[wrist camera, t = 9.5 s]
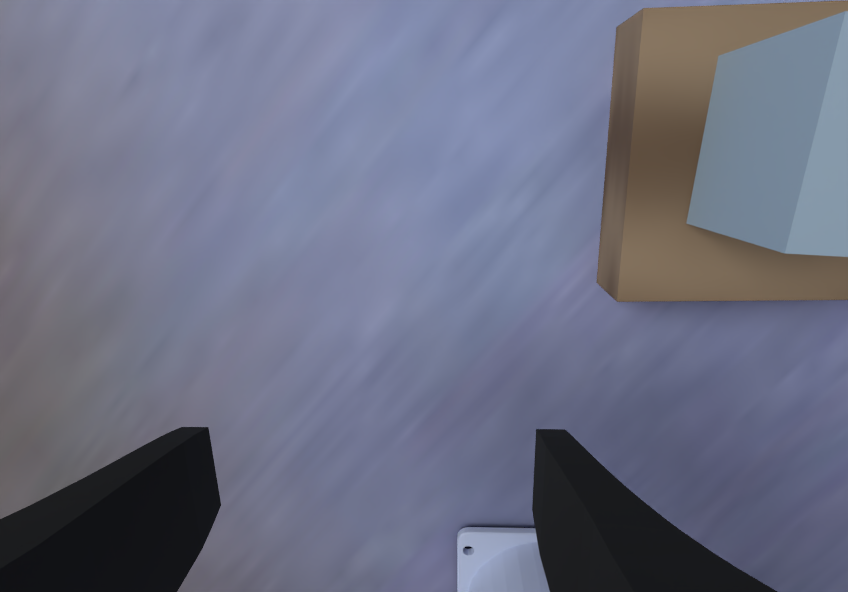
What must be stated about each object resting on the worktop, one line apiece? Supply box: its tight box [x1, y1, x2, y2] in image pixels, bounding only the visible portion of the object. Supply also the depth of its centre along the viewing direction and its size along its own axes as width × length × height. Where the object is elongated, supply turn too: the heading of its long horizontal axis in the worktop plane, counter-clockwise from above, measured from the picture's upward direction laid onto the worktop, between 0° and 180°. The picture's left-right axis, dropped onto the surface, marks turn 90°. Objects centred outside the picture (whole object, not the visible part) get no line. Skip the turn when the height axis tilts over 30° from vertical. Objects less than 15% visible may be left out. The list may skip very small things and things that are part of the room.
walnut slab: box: [597, 1, 848, 302], centre depth 17 cm, size 9×9×3 cm
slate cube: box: [686, 11, 848, 257], centre depth 13 cm, size 5×5×5 cm
